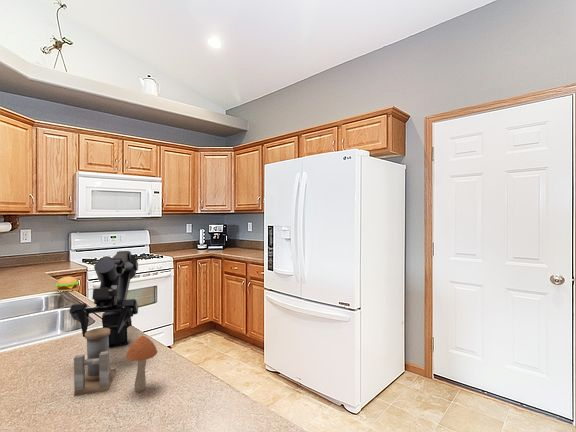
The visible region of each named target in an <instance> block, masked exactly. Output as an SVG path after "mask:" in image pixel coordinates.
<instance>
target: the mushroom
mask: <svg viewBox="0 0 576 432" xmlns="http://www.w3.org/2000/svg"><path fill="white" fill-rule="evenodd" d="M157 354H158V350H157V348H156V345H155V344H154V342H153V341H152V340H151V339H150V338H149V337H147V336H145V335H143V334H142V335H140V336H138V337H137V338H136V339H135V340H133V342H132V344H131V345H130V346H129V348H128V350H127V351H126V354H125V358H126V359H127V360H129V361H135V362H137V370H136V374H135V381H134V391H135V392H137V393H138V392H139V393H140V392H143V391H145V389H146V387H147V386H146V385H147V382H146V379H147V378H146V364H147V360H149V359H151V358H154V357H155V356H156V355H157Z"/></svg>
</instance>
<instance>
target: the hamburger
mask: <svg viewBox="0 0 576 432" xmlns="http://www.w3.org/2000/svg"><path fill="white" fill-rule="evenodd" d="M79 284H80V282H79V281H78V279H77V278H76V277H73V276H69V275H68V276H63V277H61V278H59V279H58V280H57V282H56V283H55V286H56V290H57V292H58V291H70V290H71V292H74V291H76V290H78V286H79ZM72 290H73V291H72Z"/></svg>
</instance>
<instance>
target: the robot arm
mask: <svg viewBox="0 0 576 432" xmlns="http://www.w3.org/2000/svg"><path fill="white" fill-rule="evenodd" d="M93 266H94V267H93V268H94V271H95V274H96V275H97V278H98V281H100V282H99V283H100V285H99V287H98V288H93V289H92V298H91V299H92V300H93V304H94V305H95V306H88V305H87V303H85V302H84V303H83V302H82V303H73V304H72V305H71V306H70V308H69V314H70V316H71V317H72V319H73V320H74V321H77V322H79V323H80V327H81V333H82V337H83V338H85V333H86V332H87V331H88V326H89V322H90V319H89V317H90V314H96V313H102V316H101V322H102V323H101V324H102V328H109V329H110V335H109V349H111V348H115V347H121V346H125V345H128V344H129V341H128V329H129V328H130V327H132V325H133V324H132V318H133V316H134V315H138V314H139V305H138V302H137V299H135V298H132V299H131V298H130V299H129V298H128V293H129V288H130V283H131V279H133V278H134V277H135V276H136V274H137V271H139V261H138V258H137V257H136V256H135V255H133V254H132V251H130V250H119V251H116V254H115V255H114V256H112V257H111V256H110V255H108V256H107V255H106V256H103V257H102V259H100V260H98V261H97V262H95V264H94V265H93Z"/></svg>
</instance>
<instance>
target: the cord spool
mask: <svg viewBox="0 0 576 432" xmlns="http://www.w3.org/2000/svg"><path fill="white" fill-rule="evenodd" d="M109 335H110V329H109V328H103V327H99V328H98V327H97V328H93V329H90V330H87V332H86V333H85V337H84V338H85V340H86V355H87V356H86V360H88V359H97V358H99V354H100V353H101V352H106V351H109V352H110V348H109ZM86 366H87V368H86V369H87V371H86V372H87V373H86V372H85V374H86V380H87V381H99V364H92V365H86ZM111 369H112V368H111V367H110V366H109V376H110V375H111Z"/></svg>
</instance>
